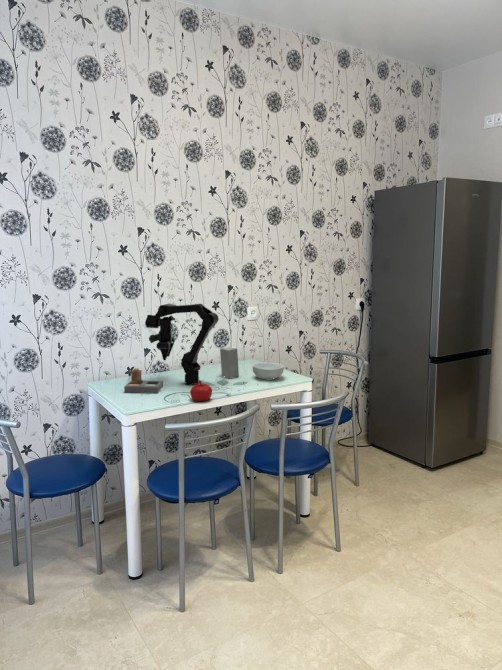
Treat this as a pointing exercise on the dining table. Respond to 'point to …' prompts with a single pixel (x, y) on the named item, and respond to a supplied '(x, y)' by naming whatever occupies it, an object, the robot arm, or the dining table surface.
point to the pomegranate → (201, 392)
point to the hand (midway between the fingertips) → (166, 358)
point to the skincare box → (229, 362)
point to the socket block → (144, 387)
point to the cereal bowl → (268, 370)
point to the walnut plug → (136, 376)
